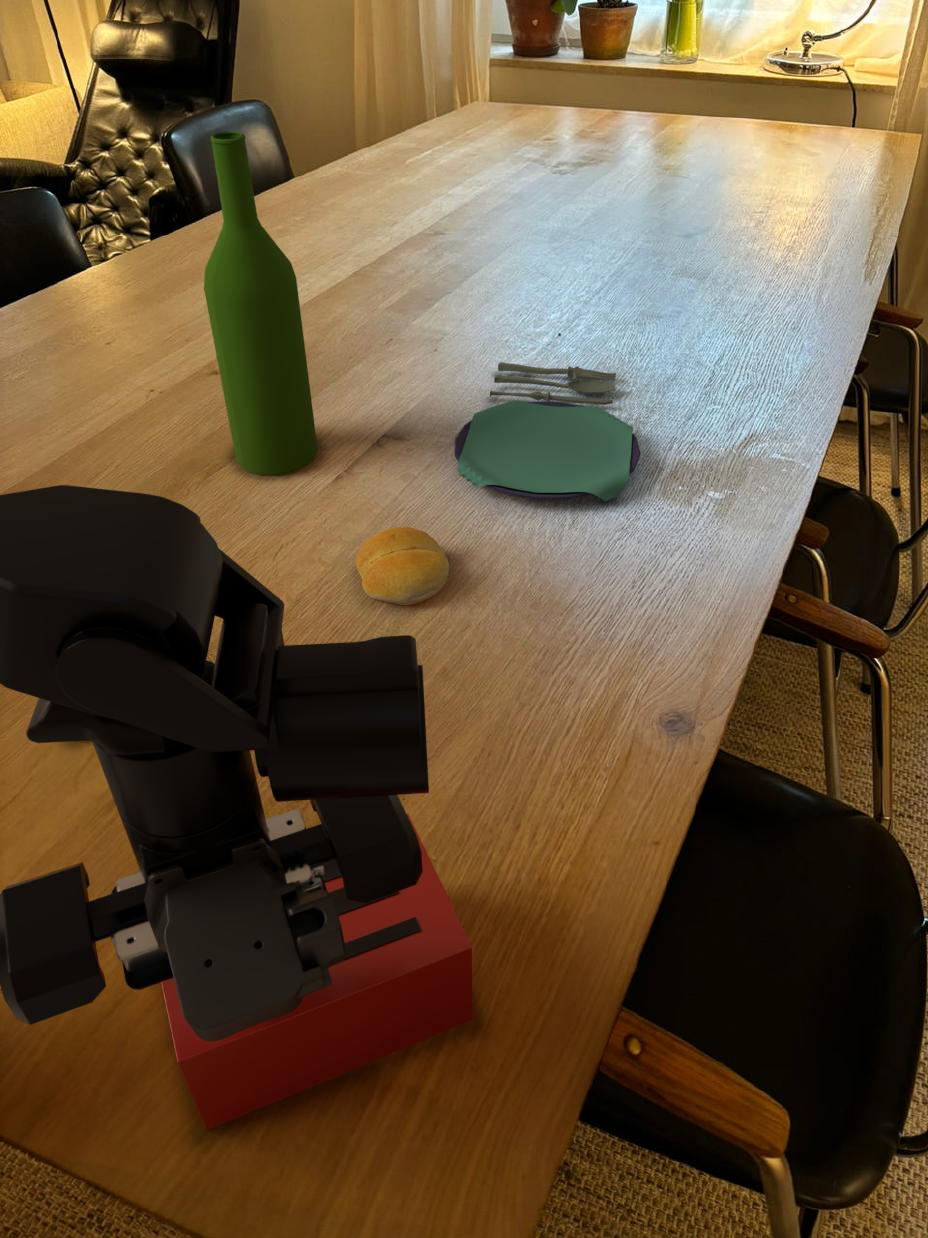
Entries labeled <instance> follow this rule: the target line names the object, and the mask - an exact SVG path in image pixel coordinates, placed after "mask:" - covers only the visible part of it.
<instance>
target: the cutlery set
mask: <svg viewBox="0 0 928 1238" xmlns="http://www.w3.org/2000/svg"><path fill="white" fill-rule="evenodd" d="M497 371H498V372H515V373H516V372H517V373H523V374H530V375H531V374H532V375H545V376H546V375H547V376H548V375H567V377H568V378H569V379H572V381H568V382H566V383H565V384H564V383H560V382H556V381H555V382H554V381H547V380H541V379H536V378H529V377H519V376H512V375H511V376H510V375H503V374H502V375H501V374H494V378H493V380H494V381H493V382H494V384H523V385H537V386H545V387H555V388H562V389H567V390H571V391H574V392H576V393H577V394H580V395H584V396H597V395H603V394H606V393H610V392H612V391H614V390H616V385H615V384H613V383H610V382H609V381H615V380H616V378H617V377H616V376H617V372H603V371H598V370H593V369H586V368H582V367H579V366H578V365H576V366H575V367H572V366H570V365H569V366H568V367H567V368H558V367H556V368H554V367H553V368H546V367H536V366H530V365H523V364H518V363H507V362H502V361H501V362H498V364H497ZM492 396H505V397H507V396H508V397H509V396H510V397H521V398H522V397H524V398H531V399H532V400H536V401H522V400H509V401H506V402H503V403H499V404H495V405H493V406H490V407H488V408H486V409H482V410H480V411H478V412H475V413H473V415H472V418H471V420H470V421H468V422H467V423H466V424H464V425H463V427H462V428H461V430H459V433H458V434H457V435H456V437H455V438H454V457H455V459H456V461H457V471H458V473H459V475H460V476H461V477H462V478H464V479H465V480H466V481H467V482H469V483H471V485H473V486H474V487H476V488H477V489H479V488H481V487H486V488H489V489H491V490H494V491H497V492H498V493H502V494H504V495H506V496H512V497H518V498H523V499H524V498H525V499H528V500H535V501H567V500H573V499H578V498H583V497H584V498H585V497H588V496H596V497H598V498H599V499H601V500H602V501H604V502H605V503H608V502H609V501H611V500H613V499H615V498H617V497H618V496H619V495H620V494H622V493H623V492H624V491H625V490H626V487H627V485H628V482H629V477H630V476H631V474H633V473H634V472H635V470H636V469H637V465H638V462H639V459H640V458H641V455H642V453H641V448H640V444H639V440H638V437H637V436H635V434H634V433H633V430H634V428H633V426H631V425H629V424H628V423H627V422H626V421H623V420H621V418H618V417H616V416H615V415H614V414H612V413H609V411H606V410H604V409H603V408H600V407H598V406H606V405H611V404H613V403H614V399H609V398H595V397H579V396H567V395H566V396H565V395H553V394H551V391H548V392H546V393H544V392H542V391H539V390H538V391H534V392H529V393H528V392H504V391H495V390H494V391H493V390H492V389H490V391H489V398H491V397H492ZM541 400H544V401H541ZM580 404H581V405H580ZM584 405H585V406H584ZM586 405H595V406H586ZM596 405H597V406H596Z"/></svg>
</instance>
